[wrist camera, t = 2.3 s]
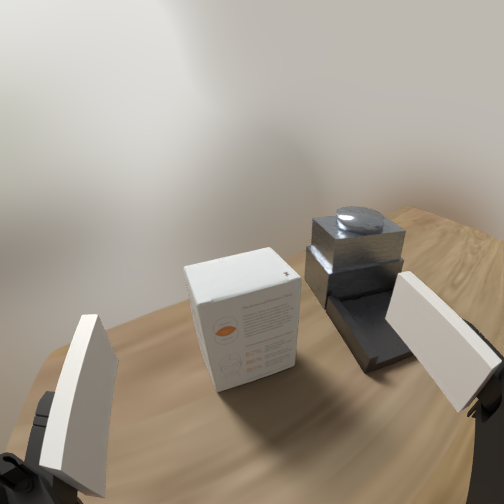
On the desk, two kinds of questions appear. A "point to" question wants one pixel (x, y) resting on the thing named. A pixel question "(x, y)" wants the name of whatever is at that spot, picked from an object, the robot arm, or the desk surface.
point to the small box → (245, 315)
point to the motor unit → (358, 280)
